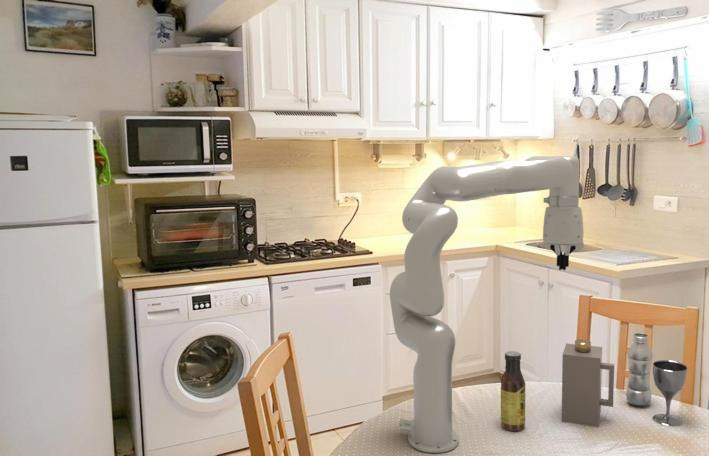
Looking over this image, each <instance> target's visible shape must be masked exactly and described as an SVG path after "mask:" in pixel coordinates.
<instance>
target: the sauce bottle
mask: <svg viewBox="0 0 709 456" xmlns="http://www.w3.org/2000/svg"><path fill="white" fill-rule="evenodd" d="M521 355H522V354H521V353H520V352H518V351H514V350H513V351H511V350H509V351H506V352H505V353H504V360H505V367H504V369H505V371H504V373H503V374H502V375H501V377H500V386H501V387H500V421H501V422H500V424H501V427H502V428H503V429H504V430H505V431H506V430H507V431H510V432H511V431H512V432H520V431H522V430H524V428H525V425H526V382H525V378H524V376H523V373H522V370H521V360H522V356H521Z"/></svg>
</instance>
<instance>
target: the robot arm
mask: <svg viewBox="0 0 709 456" xmlns="http://www.w3.org/2000/svg"><path fill="white" fill-rule="evenodd" d="M546 190H548V191H549V192H548V194H549V195H548V196H547V197H543V203H546V204H547V205H548V206H546V207H545V210H544V215H543V216H544V217H543V226H542V241H543V242H542V247H544V248H547V249H550V250H551V251H553V253H554V254H555V256H556V267H558V270H559V271H562V270H563V271H566V270H567V267H569V265H570V254H572V253H573V252H574V251H575V250H582V249H584V248H585V244H584V218H583V211H582V207H581V206H579V205H580V204H579V202H580V201H579V198H580V197H579V196H580V195H579V191H580V159H579V158H578V156H574V155H556V156H545V155H544V156H543V155H542V156H541V155H540V156H539V155H538V156H531V157H529V158H527V159H525V160H523V161H522V160H521V161H520V160H519V161H518V160H497V161H491V162H490V161H489V162H485V163H477V164H472V165H471V164H470V165H463V166H441V167H437V168H436V169H435V170H433V171H432V172H431V173H430V174H429V175H428V176H427V178H426V179H425V180H424V181H423V182H422V184H421V185H420V187H419V188H418V189H417V190H416V192H415V193H414V194H413V196H412V197H411V198H410V200H409V201H408V202H407V204H406V206H405V207H404V209H403V212H402V219H401V220H402V221H401V222H402V225H403V227H404V229H405V230H406V231H407V232H409V233H410V234H412V235H411V238H410V240H409V241H408V243H407V244H406V248H405V250H404V256H403V257H404V258H403V261H404V271H401V272H399V274H397V275H396V276H394V278H393V280H392V282H391V284H390V289H389V300H390V309H391V316H392V321H393V328H394V331H395V332H394V333H395V335H396V338H397V339H398V341H399V342H400V343H401V344H402V345H403V346H405V347H406V348H408V349H410V350H412V351H414V352H415V353H417V358H416V362H415V364H414V366H413V376H412V379H413V381H412V383H413V416H414V417H413V419H411V420H408V419H405V418H399V422H398V423H399V424H398V426H399V427H400V431H404V432H409V433H408V443H409V445H410V446H411V447H413V448H414V449H415V450H417V451H421V452H424V453H430V454H431V453H432V454H434V453H435V454H440V453H446V452H450V451H452V450H453V449H455V448H457V447H458V446H459V442H460V438H459V437H460V436H459V435H458V433H457V432H456V431H454V430H453V375H452V374H453V360H454V353H455V349H456V335H455V333H454V331H453V329H452V328H451V327H450V326H449V325H448V324H447V323H445V322H444V321H442V320H440V319H438V318H435V316H437V315H438V314H440V313H441V312H442V310H443V308H444V305H445V292H444V291H445V290H444V286H443V277H442V271H441V253H442V250H443V249H444V246H445V244H446V243H447V242H448V241H449V239H450V238H451V237H452V236H453V234H454V233H455V231H456V229H457V227H458V223H459V217H458V214H457V212H456V210H455V209H454V208H452V207H450V206H449V205H446V204H445V203H446V202H447V201H452V202H469V201H474V200H480V199H485V198H490V197H496V196H497V197H498V196H504V195H515V194H521V193H529V192H537V191H538V192H539V191H546ZM561 246H565V249H564V252H563V251H562V249H561V248H562V247H561Z"/></svg>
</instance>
